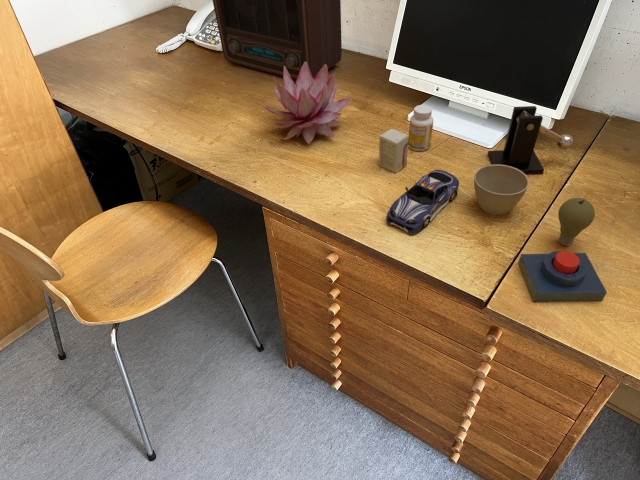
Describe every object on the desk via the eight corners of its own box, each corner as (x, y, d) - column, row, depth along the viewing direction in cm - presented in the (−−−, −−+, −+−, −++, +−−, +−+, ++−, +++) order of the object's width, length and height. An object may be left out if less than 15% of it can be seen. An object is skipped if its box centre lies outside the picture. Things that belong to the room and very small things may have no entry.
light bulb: (578, 258, 85) (597, 215, 78) (545, 248, 87) (561, 205, 80) (583, 238, 88) (601, 196, 81) (551, 230, 90) (566, 187, 83)
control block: (581, 261, 84) (589, 245, 81) (602, 301, 77) (611, 284, 75) (517, 262, 85) (523, 246, 82) (533, 302, 78) (539, 285, 75)
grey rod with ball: (562, 146, 105) (573, 135, 103) (567, 154, 102) (579, 143, 101) (513, 119, 101) (524, 107, 99) (517, 127, 98) (528, 114, 96)
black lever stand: (531, 153, 109) (546, 102, 100) (542, 174, 103) (559, 120, 94) (487, 155, 110) (498, 103, 101) (495, 175, 104) (508, 122, 95)
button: (571, 258, 80) (575, 250, 78) (579, 273, 77) (583, 266, 76) (549, 258, 80) (552, 251, 79) (557, 274, 77) (560, 266, 76)
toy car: (381, 222, 94) (382, 202, 91) (430, 178, 104) (432, 159, 101) (415, 238, 91) (417, 218, 87) (462, 191, 100) (466, 171, 97)
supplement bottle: (415, 154, 112) (419, 117, 105) (403, 143, 115) (406, 107, 109) (435, 147, 113) (439, 110, 107) (422, 137, 117) (425, 101, 110)
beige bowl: (512, 191, 99) (520, 163, 94) (526, 223, 92) (536, 193, 87) (464, 193, 100) (469, 164, 95) (474, 224, 92) (480, 195, 88)
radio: (220, 65, 156) (199, -38, 136) (256, 46, 166) (241, -53, 146) (309, 89, 140) (300, -24, 119) (342, 66, 150) (340, -42, 129)
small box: (407, 165, 108) (409, 135, 103) (395, 173, 106) (397, 143, 101) (389, 157, 111) (391, 127, 106) (377, 165, 109) (378, 135, 104)
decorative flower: (289, 162, 112) (282, 103, 102) (254, 124, 126) (245, 69, 116) (366, 136, 119) (367, 78, 108) (325, 103, 133) (322, 48, 122)
